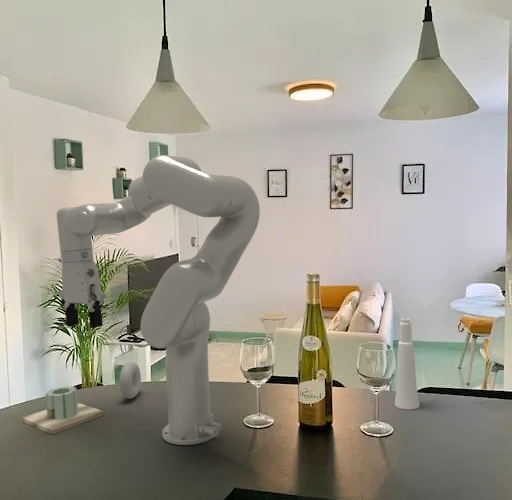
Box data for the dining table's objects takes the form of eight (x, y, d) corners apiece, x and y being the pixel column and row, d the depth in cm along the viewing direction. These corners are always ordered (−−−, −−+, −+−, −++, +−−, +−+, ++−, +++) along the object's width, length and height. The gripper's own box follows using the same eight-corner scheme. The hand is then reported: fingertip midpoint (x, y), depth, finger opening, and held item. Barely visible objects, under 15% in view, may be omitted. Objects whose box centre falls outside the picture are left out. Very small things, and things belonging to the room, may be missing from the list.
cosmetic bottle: (424, 405, 133) (422, 318, 131) (411, 412, 129) (409, 322, 127) (403, 399, 137) (401, 315, 136) (389, 405, 133) (387, 319, 132)
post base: (103, 414, 135) (102, 391, 134) (52, 434, 124) (51, 409, 124) (71, 404, 144) (70, 382, 143) (22, 421, 133) (20, 398, 132)
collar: (83, 412, 134) (81, 389, 134) (58, 422, 129) (56, 397, 128) (67, 407, 139) (65, 384, 138) (42, 416, 133) (40, 392, 133)
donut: (131, 391, 152) (129, 357, 151) (143, 391, 152) (141, 357, 151) (118, 404, 142) (116, 367, 141) (130, 404, 142) (128, 367, 141)
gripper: (111, 254, 129) (118, 324, 130) (70, 256, 139) (76, 321, 140) (85, 258, 123) (93, 331, 124) (43, 260, 133) (51, 327, 134)
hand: (84, 326), depth 132 cm, fingers open, 9 cm apart
